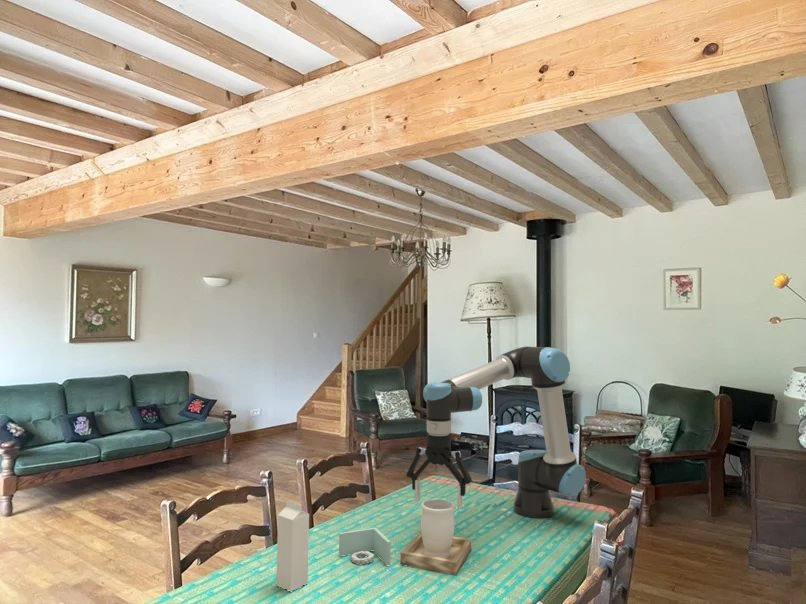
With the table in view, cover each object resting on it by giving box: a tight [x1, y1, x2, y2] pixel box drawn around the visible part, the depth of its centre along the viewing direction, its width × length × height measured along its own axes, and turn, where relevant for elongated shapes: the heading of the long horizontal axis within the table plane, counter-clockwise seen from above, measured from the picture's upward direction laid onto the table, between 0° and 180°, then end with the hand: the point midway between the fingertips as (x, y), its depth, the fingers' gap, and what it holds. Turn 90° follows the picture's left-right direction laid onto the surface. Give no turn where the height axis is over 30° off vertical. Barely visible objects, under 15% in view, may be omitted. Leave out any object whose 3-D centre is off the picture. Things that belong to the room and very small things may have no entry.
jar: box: [420, 498, 455, 558], centre depth 162 cm, size 11×10×15 cm
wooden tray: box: [400, 530, 472, 576], centre depth 161 cm, size 17×18×4 cm
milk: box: [275, 500, 310, 591], centre depth 143 cm, size 6×6×22 cm
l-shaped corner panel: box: [338, 527, 392, 566], centre depth 158 cm, size 12×12×8 cm
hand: (438, 503), depth 162 cm, fingers open, 13 cm apart
